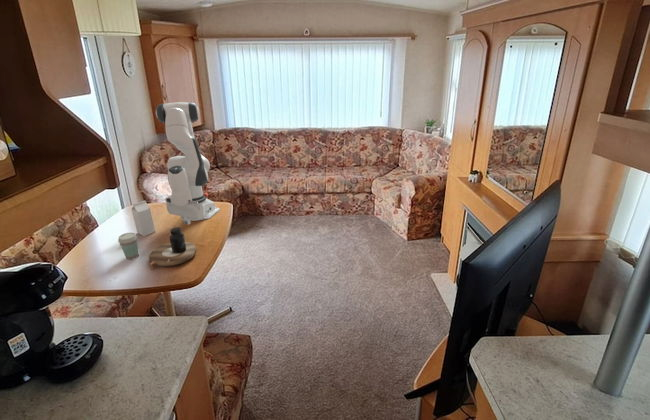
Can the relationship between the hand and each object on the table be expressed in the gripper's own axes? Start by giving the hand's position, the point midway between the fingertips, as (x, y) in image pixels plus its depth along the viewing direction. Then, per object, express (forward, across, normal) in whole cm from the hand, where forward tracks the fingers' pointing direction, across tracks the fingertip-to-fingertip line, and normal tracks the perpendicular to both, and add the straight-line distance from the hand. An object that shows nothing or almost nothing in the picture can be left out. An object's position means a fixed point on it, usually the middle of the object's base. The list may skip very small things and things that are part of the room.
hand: (187, 223), depth 186 cm
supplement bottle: (+12, 0, +8) cm, 14 cm away
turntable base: (+14, +3, +13) cm, 19 cm away
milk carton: (+15, +39, -5) cm, 42 cm away
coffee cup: (+15, +23, +18) cm, 33 cm away
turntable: (+13, +3, +10) cm, 17 cm away
